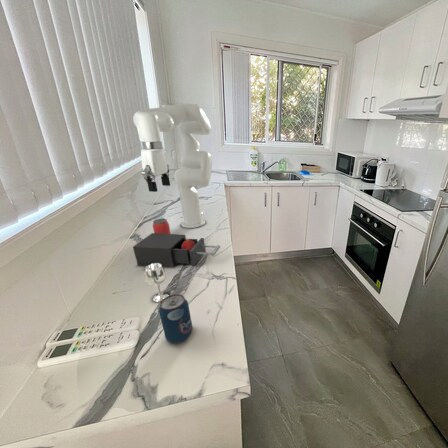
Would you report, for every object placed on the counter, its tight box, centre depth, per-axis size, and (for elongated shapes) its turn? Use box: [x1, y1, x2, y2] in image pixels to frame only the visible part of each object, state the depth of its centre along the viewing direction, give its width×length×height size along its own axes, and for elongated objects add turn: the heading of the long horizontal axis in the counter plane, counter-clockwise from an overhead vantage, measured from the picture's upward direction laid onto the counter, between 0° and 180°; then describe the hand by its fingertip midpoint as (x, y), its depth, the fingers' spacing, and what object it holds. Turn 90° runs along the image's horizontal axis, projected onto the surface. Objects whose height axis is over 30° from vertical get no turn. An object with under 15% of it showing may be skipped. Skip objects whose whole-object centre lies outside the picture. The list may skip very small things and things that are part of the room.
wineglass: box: [144, 263, 169, 303], centre depth 80 cm, size 6×6×12 cm
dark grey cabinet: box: [132, 232, 187, 269], centre depth 103 cm, size 15×13×9 cm
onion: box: [181, 238, 195, 256], centre depth 102 cm, size 6×6×8 cm
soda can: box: [158, 293, 194, 345], centre depth 66 cm, size 7×7×12 cm
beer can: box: [152, 218, 172, 234], centre depth 114 cm, size 7×7×12 cm
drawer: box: [171, 237, 221, 267], centre depth 102 cm, size 21×12×7 cm, turn 88°
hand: (160, 188), depth 103 cm, fingers open, 9 cm apart
